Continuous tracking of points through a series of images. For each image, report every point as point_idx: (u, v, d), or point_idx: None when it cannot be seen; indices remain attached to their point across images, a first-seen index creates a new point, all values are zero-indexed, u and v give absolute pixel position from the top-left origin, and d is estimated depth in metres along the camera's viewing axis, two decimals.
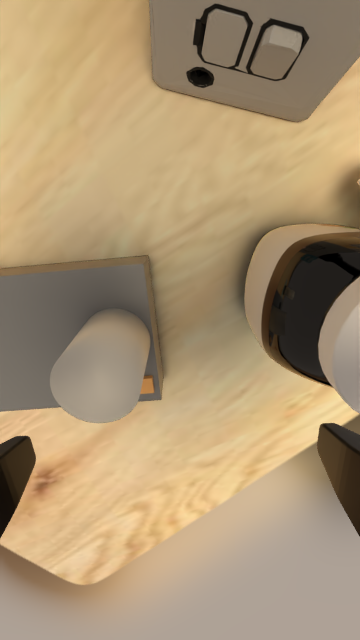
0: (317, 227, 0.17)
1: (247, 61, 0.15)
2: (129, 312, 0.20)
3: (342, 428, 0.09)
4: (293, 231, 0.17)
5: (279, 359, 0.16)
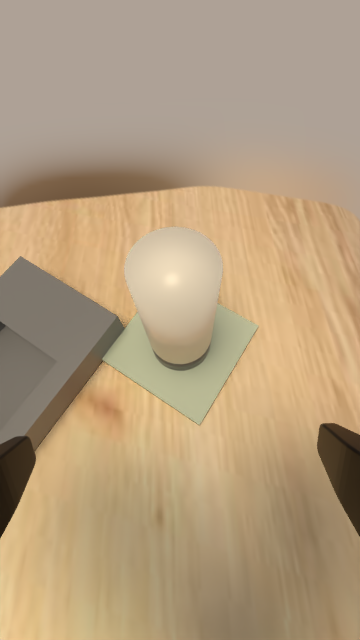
0: None
1: None
2: None
3: (342, 428, 0.09)
4: None
5: None
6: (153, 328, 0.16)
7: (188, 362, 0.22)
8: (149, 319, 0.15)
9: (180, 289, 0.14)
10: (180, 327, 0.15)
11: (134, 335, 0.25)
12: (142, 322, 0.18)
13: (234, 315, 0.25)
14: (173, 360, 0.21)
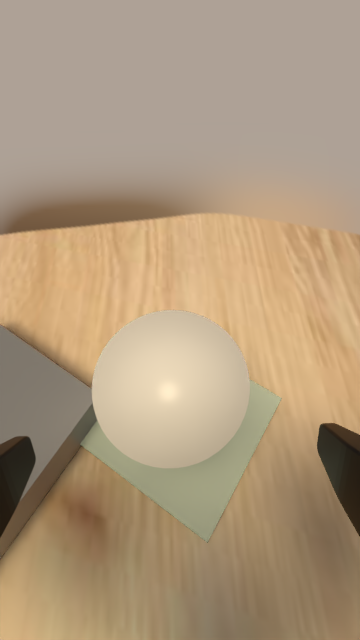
0: None
1: None
2: None
3: (342, 428, 0.09)
4: None
5: None
6: None
7: None
8: None
9: (181, 424, 0.09)
10: None
11: None
12: None
13: (250, 383, 0.20)
14: None
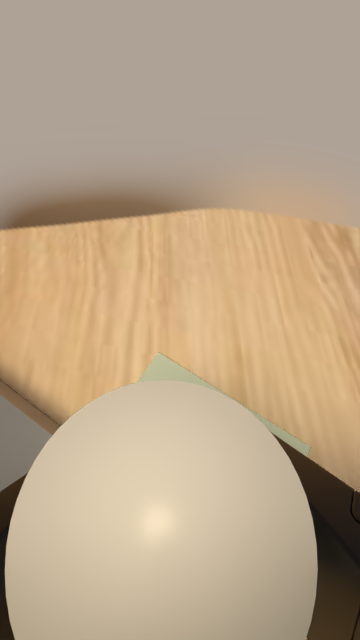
0: None
1: None
2: None
3: None
4: None
5: None
6: None
7: None
8: None
9: None
10: None
11: None
12: None
13: (269, 427, 0.15)
14: None
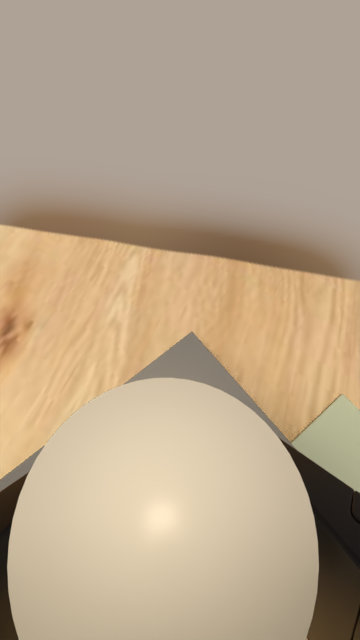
0: None
1: None
2: None
3: None
4: None
5: None
6: None
7: None
8: None
9: (182, 637, 0.04)
10: None
11: None
12: None
13: None
14: None
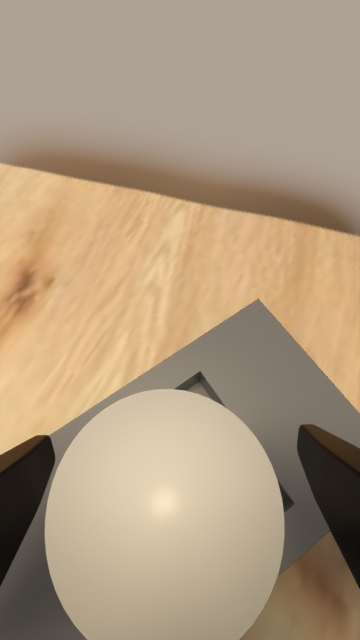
0: None
1: None
2: None
3: (319, 429, 0.09)
4: None
5: None
6: None
7: None
8: None
9: (179, 588, 0.06)
10: None
11: None
12: None
13: None
14: None
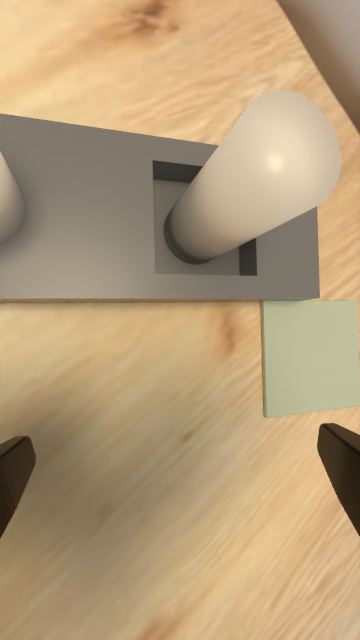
0: None
1: None
2: None
3: (342, 428, 0.09)
4: None
5: None
6: (212, 200, 0.14)
7: (196, 256, 0.20)
8: (222, 188, 0.13)
9: (284, 180, 0.12)
10: (244, 219, 0.13)
11: (296, 313, 0.25)
12: (199, 185, 0.15)
13: (357, 382, 0.26)
14: (186, 244, 0.19)
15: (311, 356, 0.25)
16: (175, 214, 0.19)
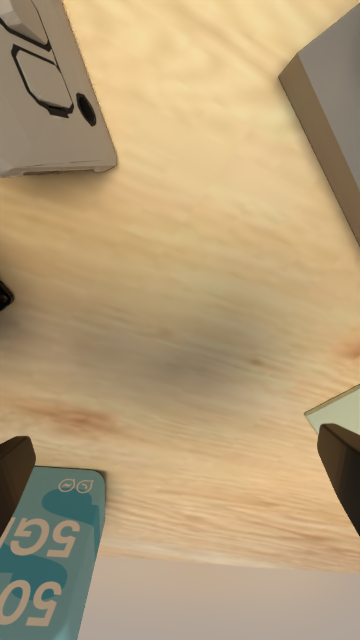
0: None
1: (43, 49, 0.13)
2: None
3: (341, 428, 0.09)
4: None
5: None
6: None
7: None
8: None
9: None
10: None
11: None
12: None
13: None
14: None
15: None
16: None
